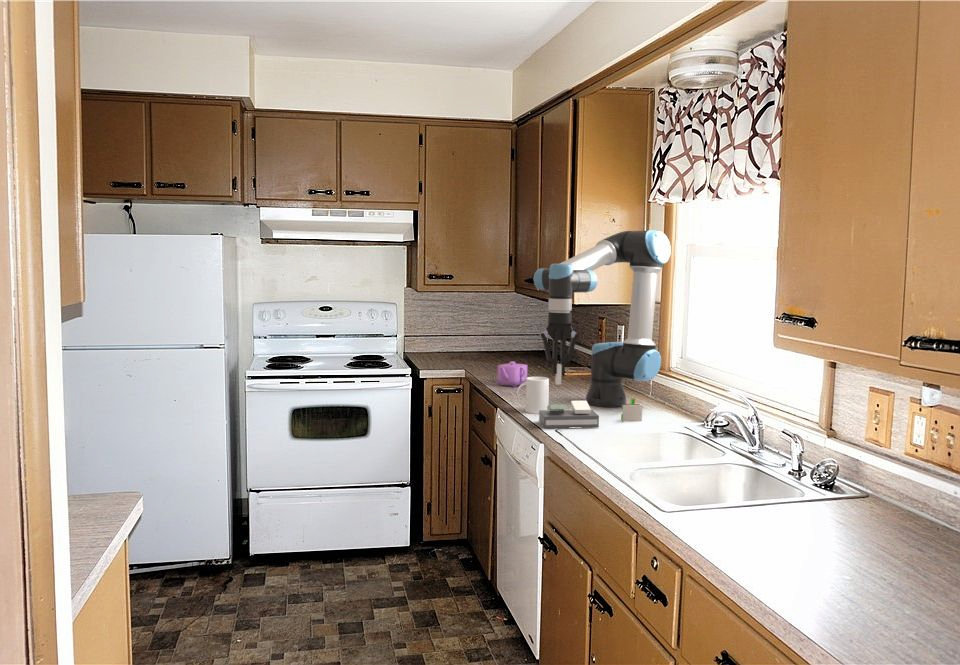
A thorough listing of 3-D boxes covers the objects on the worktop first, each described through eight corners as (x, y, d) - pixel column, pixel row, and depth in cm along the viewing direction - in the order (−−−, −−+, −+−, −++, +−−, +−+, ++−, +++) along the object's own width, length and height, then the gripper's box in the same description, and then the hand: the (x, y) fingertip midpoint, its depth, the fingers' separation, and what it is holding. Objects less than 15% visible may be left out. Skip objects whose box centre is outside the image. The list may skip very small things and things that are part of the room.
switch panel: (591, 421, 274) (591, 406, 274) (598, 427, 264) (599, 413, 264) (539, 421, 272) (539, 407, 272) (544, 428, 262) (544, 413, 262)
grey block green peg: (618, 420, 278) (619, 397, 277) (637, 419, 279) (637, 396, 278) (622, 422, 274) (623, 399, 273) (641, 422, 275) (642, 398, 274)
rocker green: (562, 409, 271) (562, 405, 271) (566, 408, 264) (566, 404, 264) (547, 409, 271) (547, 405, 271) (550, 408, 264) (550, 404, 264)
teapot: (512, 390, 331) (512, 365, 330) (484, 386, 339) (484, 362, 338) (535, 384, 346) (535, 360, 345) (508, 380, 354) (508, 357, 353)
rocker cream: (586, 404, 272) (586, 400, 271) (590, 413, 265) (590, 409, 265) (570, 404, 271) (571, 400, 271) (575, 413, 265) (575, 409, 264)
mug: (518, 414, 285) (518, 380, 283) (514, 409, 293) (515, 376, 292) (551, 413, 286) (551, 380, 284) (546, 408, 294) (547, 376, 293)
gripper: (577, 310, 266) (575, 381, 268) (538, 310, 264) (536, 381, 267) (582, 312, 258) (580, 385, 261) (541, 312, 257) (540, 385, 259)
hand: (558, 383), depth 264 cm, fingers closed
